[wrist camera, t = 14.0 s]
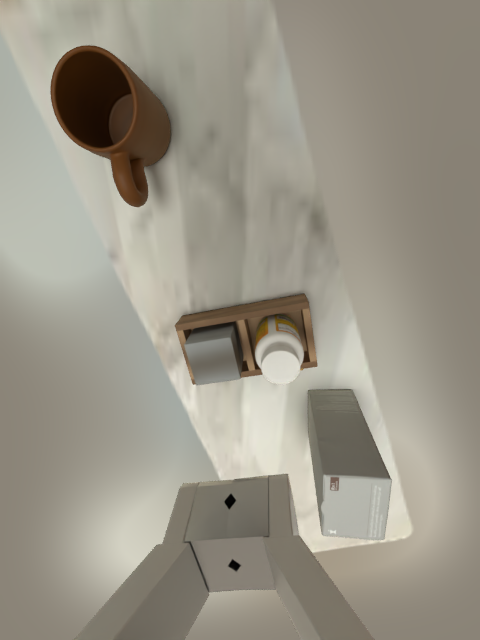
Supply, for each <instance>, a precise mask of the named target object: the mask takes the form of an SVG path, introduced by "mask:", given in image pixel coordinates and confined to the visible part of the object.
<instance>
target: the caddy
mask: <svg viewBox="0 0 480 640" xmlns="http://www.w3.org/2000/svg"><path fill="white" fill-rule="evenodd" d="M274 314H284V315H286V316H288V317H290V318H291V319H292V320H293V321H294V322H295V324H296V327H297V330H298V333H299V336H300V340H301V343H302V346H303V351H304V358H303V362H302V364H301V366H300V370H303V369H304V368H311V367H317V359H316V352H315V345H314V338H313V331H312V324H311V316H310V309H309V302H308V300H307V298H306V296H305V294H300V295H295V296H289V297H283V298H278V299H272V300H267V301H261V302H256V303H250V304H245V305H239V306H233V307H228V308H222V309H217V310H211V311H206V312H200V313H195V314H189V315H183V316H182V317H181V318H180V319H179V321H178V322H177V323H176V325H175V327H176V331H177V334H178V337H179V340H180V344H181V347H182V350H183V354H184V357H185V360H186V364H187V367H188V370H189V373H190V377H191V380H192V383H193V384H196V385H203V384H210V383H217V382H224V381H231V380H238V379H240V378H242V377H249V376H255V375H262V371H261V369H260V367H259V366H258V364H257V362H256V358H255V345H256V330H257V326H258V324H259V323H260V321H261V320H262V319H263V318H264V317H266V316H268V315H274Z"/></svg>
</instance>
